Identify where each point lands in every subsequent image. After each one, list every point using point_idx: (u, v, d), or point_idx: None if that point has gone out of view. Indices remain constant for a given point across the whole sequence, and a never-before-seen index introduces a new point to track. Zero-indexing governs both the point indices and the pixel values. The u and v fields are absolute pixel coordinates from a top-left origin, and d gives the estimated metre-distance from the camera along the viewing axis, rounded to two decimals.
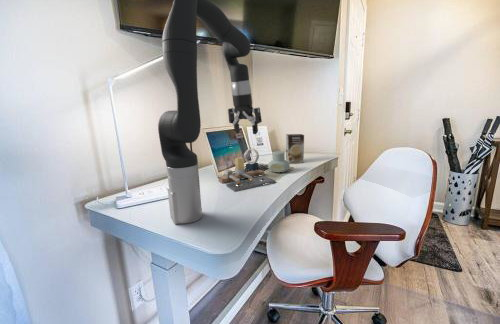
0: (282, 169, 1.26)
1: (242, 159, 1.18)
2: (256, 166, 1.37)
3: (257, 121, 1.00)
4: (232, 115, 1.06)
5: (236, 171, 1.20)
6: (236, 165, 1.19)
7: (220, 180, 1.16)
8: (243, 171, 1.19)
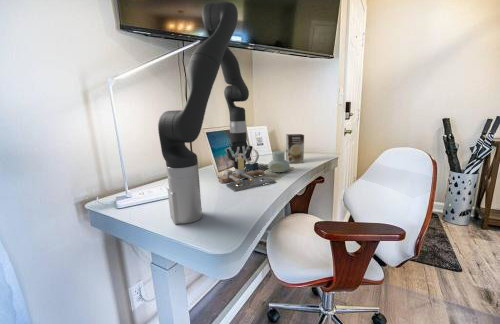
0: (282, 169, 1.26)
1: (242, 159, 1.18)
2: (256, 166, 1.37)
3: (248, 156, 1.19)
4: None
5: (236, 171, 1.20)
6: None
7: (220, 180, 1.16)
8: (243, 171, 1.19)
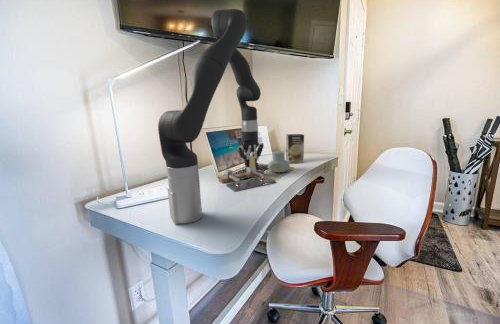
0: (282, 169, 1.26)
1: (253, 157, 1.21)
2: (256, 166, 1.37)
3: (259, 154, 1.22)
4: None
5: (247, 169, 1.23)
6: None
7: (220, 180, 1.16)
8: (254, 169, 1.21)
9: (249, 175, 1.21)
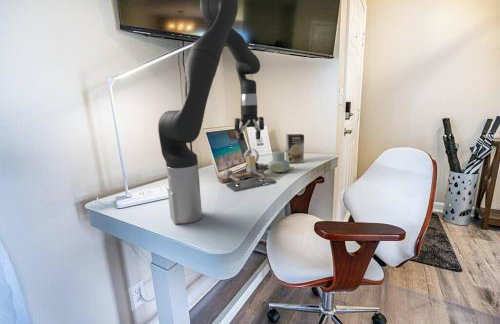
0: (282, 169, 1.26)
1: (253, 157, 1.21)
2: (256, 166, 1.37)
3: (263, 127, 1.21)
4: None
5: (247, 169, 1.23)
6: (247, 163, 1.22)
7: (220, 180, 1.16)
8: (254, 169, 1.21)
9: (249, 175, 1.21)
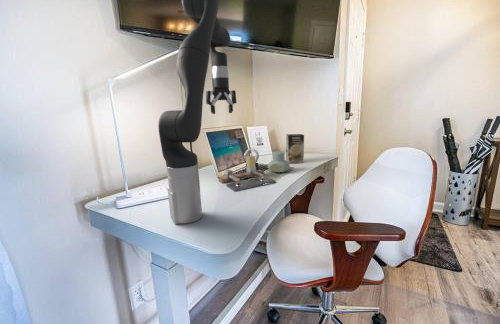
0: (282, 169, 1.26)
1: (253, 157, 1.21)
2: (256, 166, 1.37)
3: (235, 101, 1.22)
4: None
5: (247, 169, 1.23)
6: (247, 163, 1.22)
7: (220, 180, 1.16)
8: (254, 169, 1.21)
9: (249, 175, 1.21)
